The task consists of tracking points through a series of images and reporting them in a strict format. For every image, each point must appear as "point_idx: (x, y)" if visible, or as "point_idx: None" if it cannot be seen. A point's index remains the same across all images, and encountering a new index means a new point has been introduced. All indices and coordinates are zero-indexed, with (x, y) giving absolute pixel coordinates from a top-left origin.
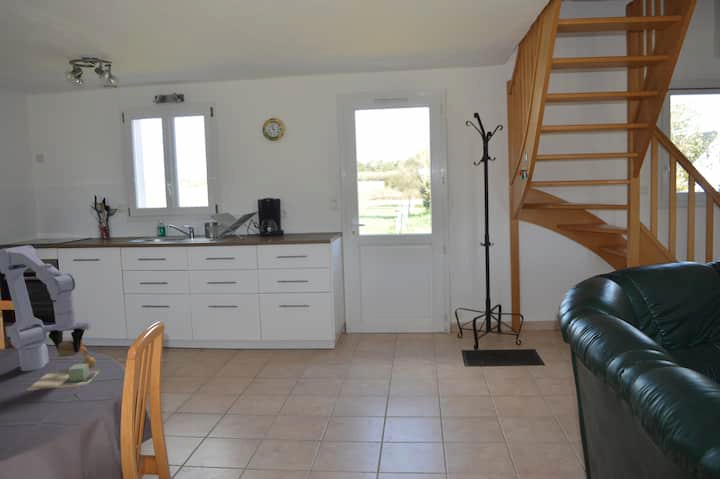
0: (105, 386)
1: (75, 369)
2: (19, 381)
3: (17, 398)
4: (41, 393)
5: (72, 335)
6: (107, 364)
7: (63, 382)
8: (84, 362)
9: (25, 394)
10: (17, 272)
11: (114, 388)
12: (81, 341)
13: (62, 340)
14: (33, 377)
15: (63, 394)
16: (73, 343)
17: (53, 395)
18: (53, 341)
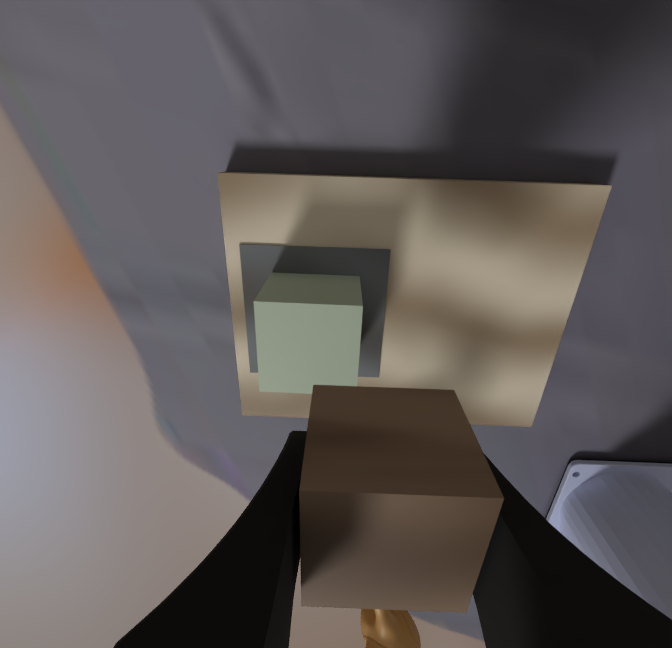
0: (119, 191)
1: (309, 302)
2: (659, 388)
3: (645, 110)
4: (500, 168)
5: (247, 645)
6: None
7: (394, 267)
8: None
9: (601, 176)
10: None
11: (35, 138)
12: (364, 630)
13: (479, 610)
14: (593, 421)
15: (345, 108)
16: (301, 511)
17: (409, 106)
18: (593, 566)
